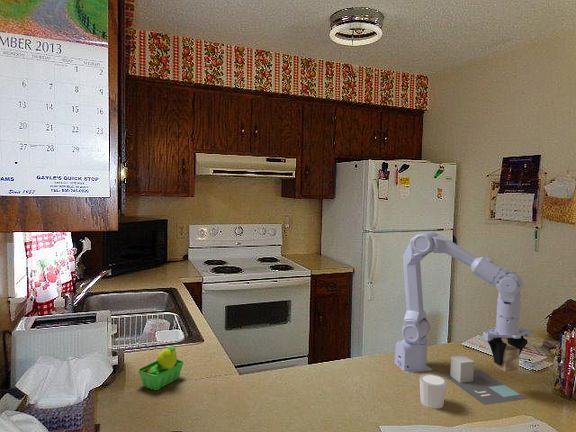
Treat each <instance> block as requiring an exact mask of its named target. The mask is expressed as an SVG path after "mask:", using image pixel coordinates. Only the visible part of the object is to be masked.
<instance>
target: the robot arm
mask: <svg viewBox="0 0 576 432" xmlns="http://www.w3.org/2000/svg"><path fill="white" fill-rule="evenodd" d="M430 253H433V254H447V255H448V256H450V257H452V258H454V259H455V260H457V261H459V262H460V263H463V264H465V265H466V266H468V267H470V269H471V273H472V274H473V275H475V276H477V277H479V279H482V281H485V282H486V283H488V284H489V285H491V286H494V287H495V288H496V290H497V292H498V293H497V294H498V296H497V299H496V319H495V321H496V322H495V328H493V329H489V330H486V331H483V332H482V339H483V340H485V341H487V343H488V345H489V347H490V349H491V352H492V359H493V358H494V362H495V363H496V364H498V365H502V362H503V355H504V351H505V348H506V346H507V344H506V343H508V344H510V345H512V346H514V347H516V348H518V349H520V351H519V357H520V356H521V354H522V351H523V350H524V348H525V346H526V345H528V339H526V338H531V336H532V334H531V333H532V330H531V329H528V328H526V327H524V328H523V327H521V328H520V321H521V304H522V303H521V298H522V297H521V290H522V287H523V279H522V277H521V276H520V275H519V274H518V273H517V272H515V271H512V270H510V269H509V268H507V267H505V268H504V267H502V266H500V265H499V264H497V263H495V262H494V261H493V259H492V258H491V257H485V256H481V257H477V256H475V255H474V254H472V253H470V252H469V251H467V250H466V249H464V248H462V247H461V246H460V245H458V244H456V243H455V242H453V241H452V240H450V239H448V238H447V237H445V236H443V235H441V234H438V233H437V232H435V231H432V230H431V231H426V232H424V233H422V232H421V233H417V234H416V235H415V236H413V237H412V238H411V239H410V240H409V243H408V245H407V247H406V250H405V251H404V253H403V255H402V263H403V264H402V265H403V278H404V279H403V280H404V292H405V295H404V296H405V306H406V309H405V310H406V311H405V314H404V316H403V325H402V327H401V336H402V337H403V339H402V340H399V341H396V342H395V346H394V347H395V348H394V362H393V363H394V364H395V365H396V366H397V367H398V368H399V369H401V370H402V371H403V372H404V373H406V374H409V373H418V372H426V371H432V370H433V369H432V368H431V367H429V366H428V362H427V359H428V338H427V335H428V334H429V332H430V330H431V326H430V325H431V324H430V322H429V320H428V319H427V313H426V311H425V310H424V299H423V286H422V268H421V261H422V260H423V259H424V258H425V257H426V256H427V255H428V254H430ZM525 337H526V338H525ZM503 339H504V340H505V339H506V340H507V342H504V341H503Z"/></svg>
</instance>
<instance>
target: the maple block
mask: <svg viewBox="0 0 576 432" xmlns="http://www.w3.org/2000/svg"><path fill="white" fill-rule="evenodd" d="M505 343H506V344H507V346H506V348H505V351H504V355H503V362H502V365H498V364H496V363H495V362H494V358H493V357H492V365H493V366H494V367H496V368H497V369H500V370H501V371H503V372H505V373H507V372H515V371H519V369H520V368H519V366H520V356H519V351H520V349H518V348H516V347H514V346H512V345H510V344H508V342H505Z"/></svg>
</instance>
